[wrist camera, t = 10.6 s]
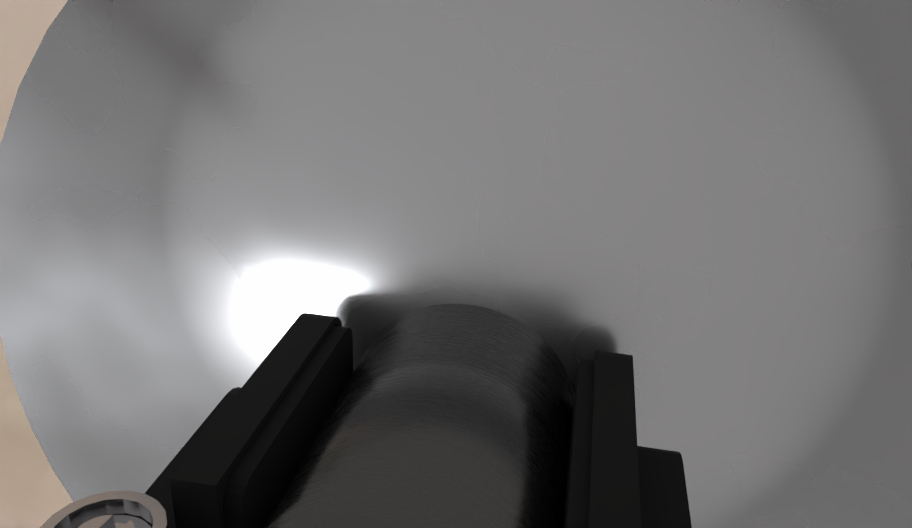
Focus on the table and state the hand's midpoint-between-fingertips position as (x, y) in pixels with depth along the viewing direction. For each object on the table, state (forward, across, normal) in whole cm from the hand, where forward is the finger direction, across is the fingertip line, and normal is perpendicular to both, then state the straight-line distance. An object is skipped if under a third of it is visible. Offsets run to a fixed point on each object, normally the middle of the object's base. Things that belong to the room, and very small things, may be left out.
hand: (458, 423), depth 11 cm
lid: (+1, 0, 0) cm, 1 cm away
